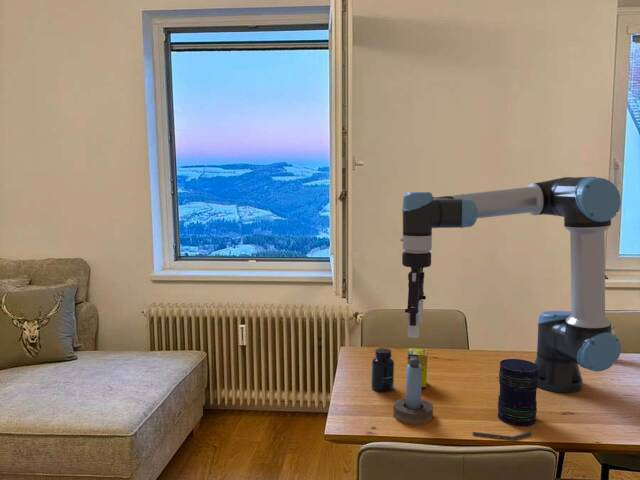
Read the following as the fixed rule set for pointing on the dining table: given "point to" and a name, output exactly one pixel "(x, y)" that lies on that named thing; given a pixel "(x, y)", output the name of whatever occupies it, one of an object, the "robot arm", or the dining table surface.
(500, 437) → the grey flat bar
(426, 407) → the bead
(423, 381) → the supplement box
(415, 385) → the round-tipped blue peg
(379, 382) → the supplement bottle
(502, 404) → the storage jar
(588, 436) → the dining table surface
